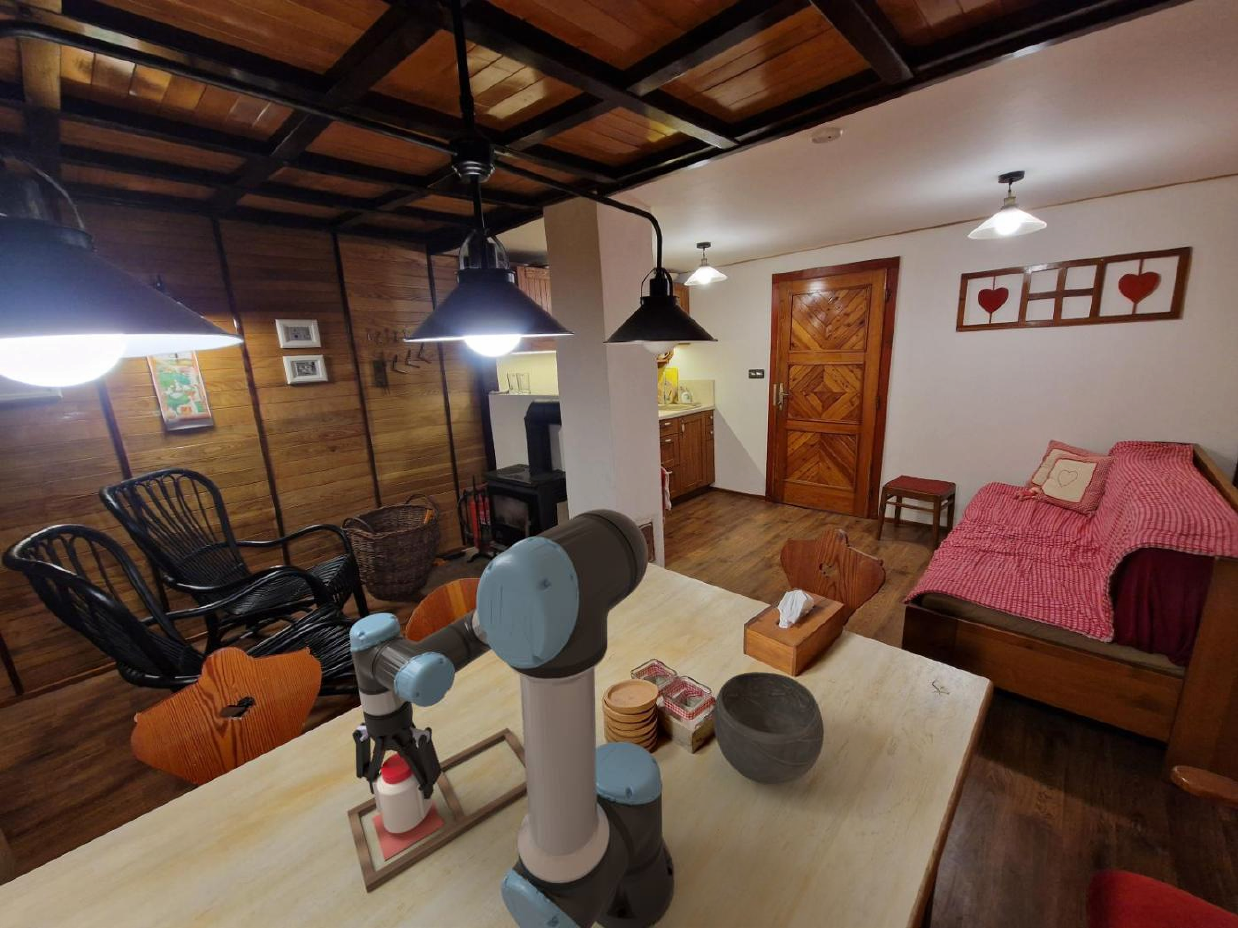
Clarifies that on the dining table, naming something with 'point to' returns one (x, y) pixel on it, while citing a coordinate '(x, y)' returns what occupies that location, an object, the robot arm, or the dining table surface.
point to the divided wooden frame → (429, 818)
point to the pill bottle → (398, 795)
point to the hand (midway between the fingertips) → (405, 808)
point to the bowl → (768, 727)
